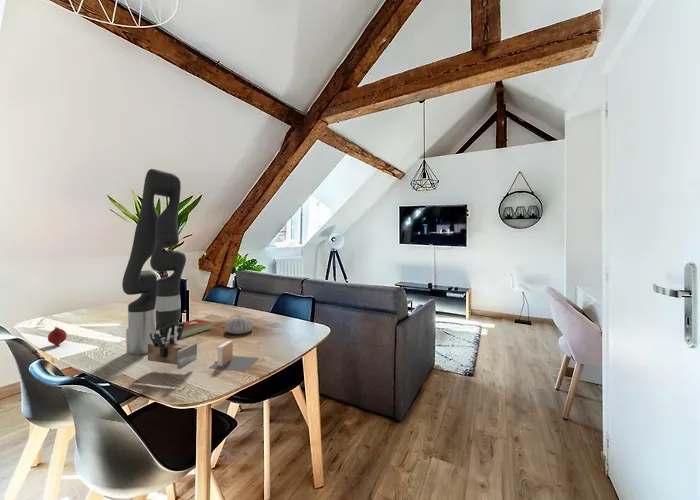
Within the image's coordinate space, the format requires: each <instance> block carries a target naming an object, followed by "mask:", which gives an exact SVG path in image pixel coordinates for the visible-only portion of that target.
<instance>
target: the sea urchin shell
mask: <svg viewBox="0 0 700 500" xmlns="http://www.w3.org/2000/svg"><path fill="white" fill-rule="evenodd" d="M253 324H254V323H253V322H252V320H251V319H250V318H249V316H248V317H247V316H246V315H242V314H241V315H235V316H233V317H231V318H229V320H227V322H226V323H225V326H224V329H225V331H226V332H227V333H228V334H233V335H242V334H246V333H249V332H251V330H252V329H253V327H254V325H253Z"/></svg>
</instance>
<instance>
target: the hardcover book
mask: <svg viewBox="0 0 700 500" xmlns="http://www.w3.org/2000/svg"><path fill="white" fill-rule="evenodd" d="M182 323H184V324H185V326H184V329H183V332H182V335H181V339H183V338H186V337H188V336H192V335H195V334H199V333H201V332H204V331H208V330H211V329H212V323H213V321H211V320H210V321H209V320H207V319H206V320H204V319H199V318H195V319H192V320H191V319H190V320H188V321H185V322H182ZM178 334H179V333H177V335H178ZM163 338H166V337H163Z"/></svg>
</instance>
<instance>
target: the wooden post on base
mask: <svg viewBox="0 0 700 500" xmlns="http://www.w3.org/2000/svg"><path fill="white" fill-rule="evenodd" d="M163 344H164V341H163ZM167 347H168V357H167V358H161V357H160V348H158V347H155V346H154V344H153V342H151V343H149V344H148V353H147V361H148V362H156V363H157V362H158V363H162V364H163V363H164V364H170V365H176V367H177V368H176V369H177V370H182V369H183V368H185V367H186V366H188V365H190V364H192V363H193V362H195V361H197V358H198V357H197V356H198V354H197V353H198V343H197V342H193V343H191V344H189V345H188V344H182V343H176V344H175V343H169V342H168V346H167Z"/></svg>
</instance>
